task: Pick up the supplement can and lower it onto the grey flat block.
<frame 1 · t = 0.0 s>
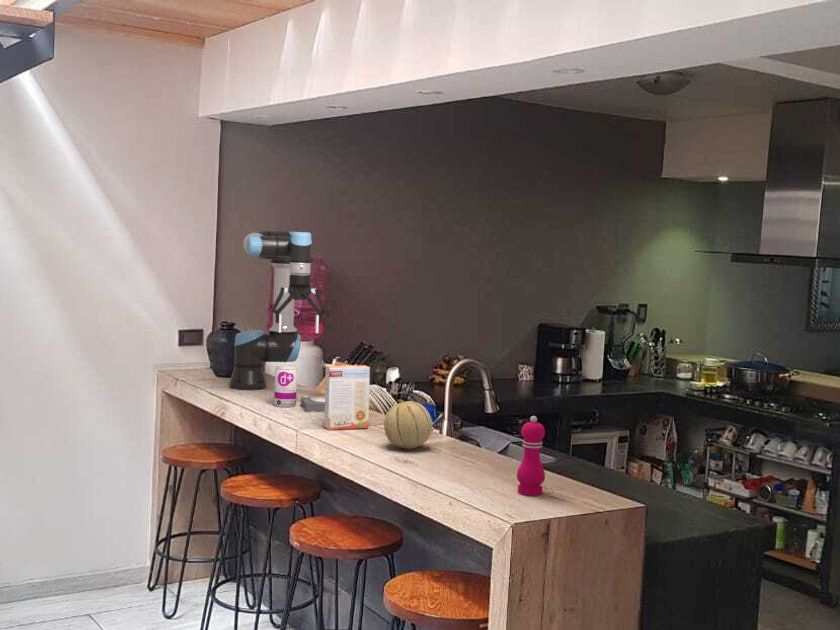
hand: (298, 332, 354), 28 cm above the counter, tool pointing down, fingers open, 13 cm apart
supplement can: (285, 406, 360), on the counter
pepper mill: (529, 493, 248), on the counter
grey flat block: (325, 408, 358), on the counter
cantaloupe: (406, 449, 295), on the counter
cracker box: (345, 428, 323), on the counter
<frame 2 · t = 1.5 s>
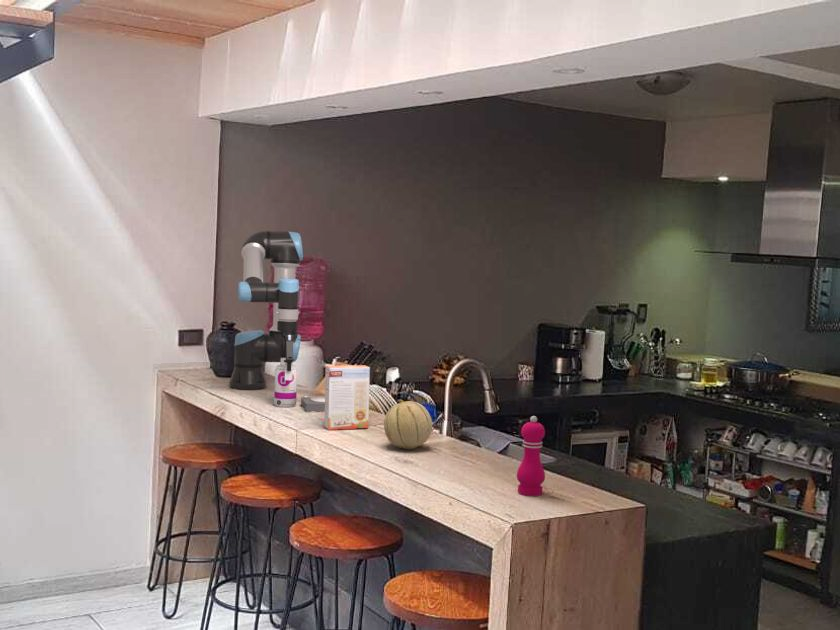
hand: (286, 377, 359), 11 cm above the counter, tool pointing down, fingers open, 13 cm apart
nothing on the counter moved.
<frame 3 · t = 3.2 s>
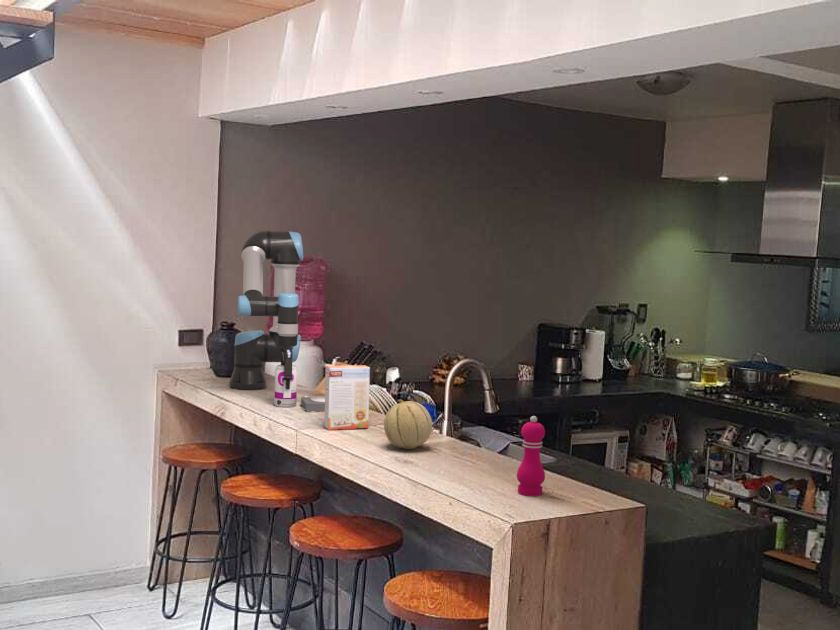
hand: (285, 395, 360), 4 cm above the counter, tool pointing down, fingers closed on supplement can, 8 cm apart
supplement can: (285, 406, 360), on the counter, touching gripper
everything else where it was.
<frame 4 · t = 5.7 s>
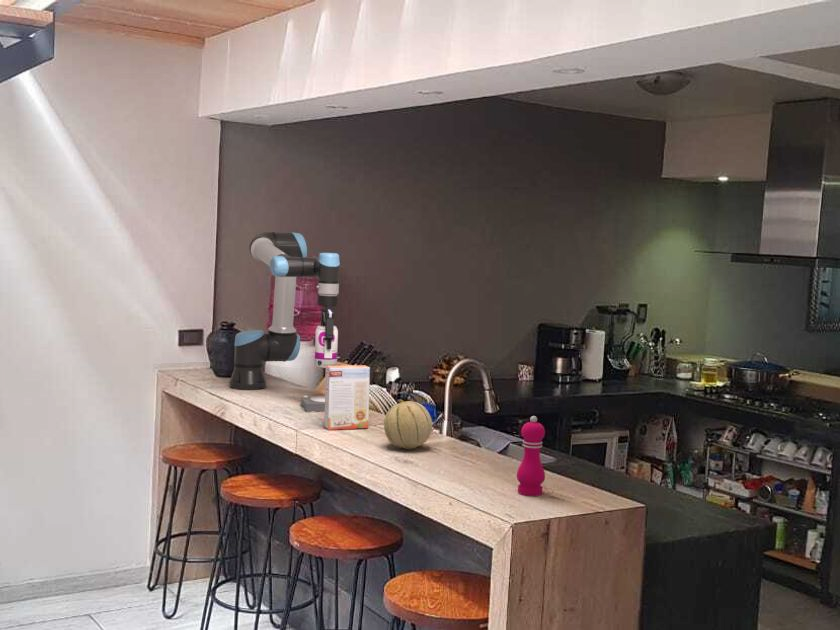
hand: (326, 356, 356), 19 cm above the counter, tool pointing down, fingers closed on supplement can, 8 cm apart
supplement can: (325, 367, 357), point 15 cm above the counter, touching gripper
everything else where it was.
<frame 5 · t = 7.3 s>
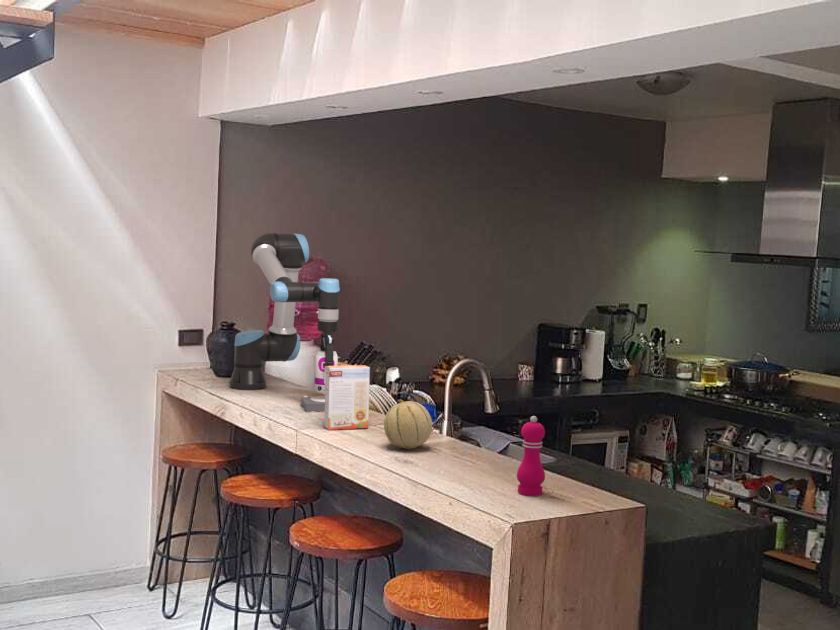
hand: (325, 381, 357), 10 cm above the counter, tool pointing down, fingers closed on supplement can, 8 cm apart
supplement can: (325, 392, 357), point 6 cm above the counter, touching gripper
everything else where it was.
when the fingers open (9 cm above the counter, at t = 8.4 s): supplement can drops 1 cm, resting on grey flat block.
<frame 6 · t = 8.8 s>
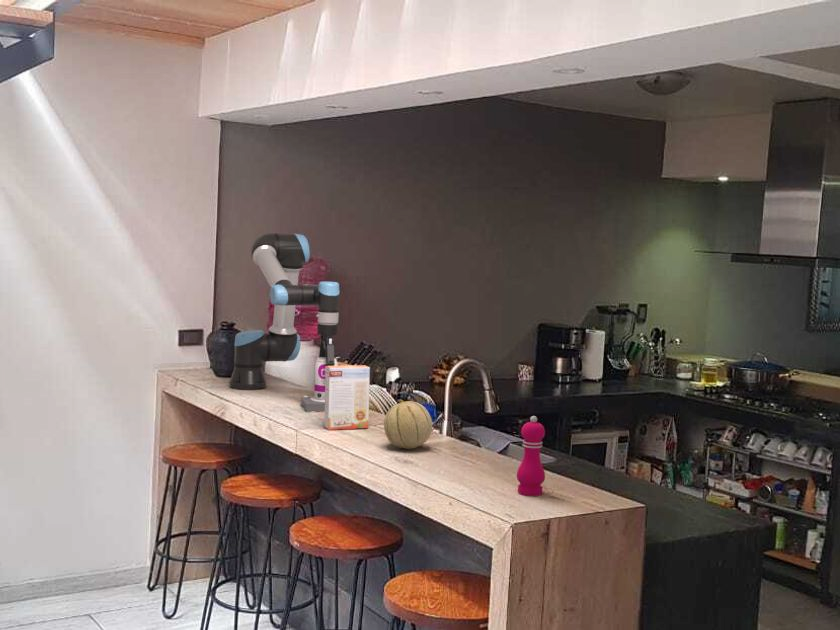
hand: (325, 381, 357), 10 cm above the counter, tool pointing down, fingers open, 13 cm apart
supplement can: (325, 399, 358), point 3 cm above the counter, touching grey flat block
everything else where it was.
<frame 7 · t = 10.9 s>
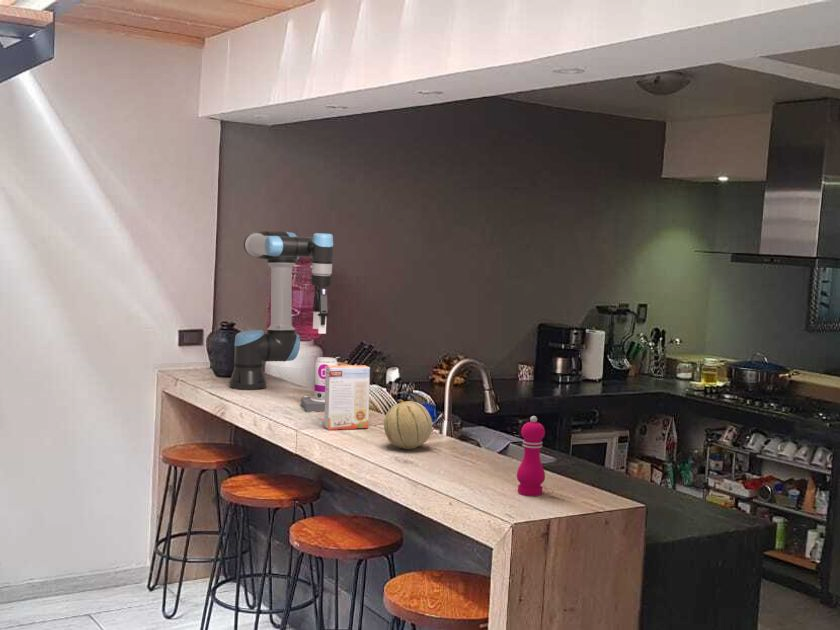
hand: (319, 331, 364), 28 cm above the counter, tool pointing down, fingers open, 13 cm apart
nothing on the counter moved.
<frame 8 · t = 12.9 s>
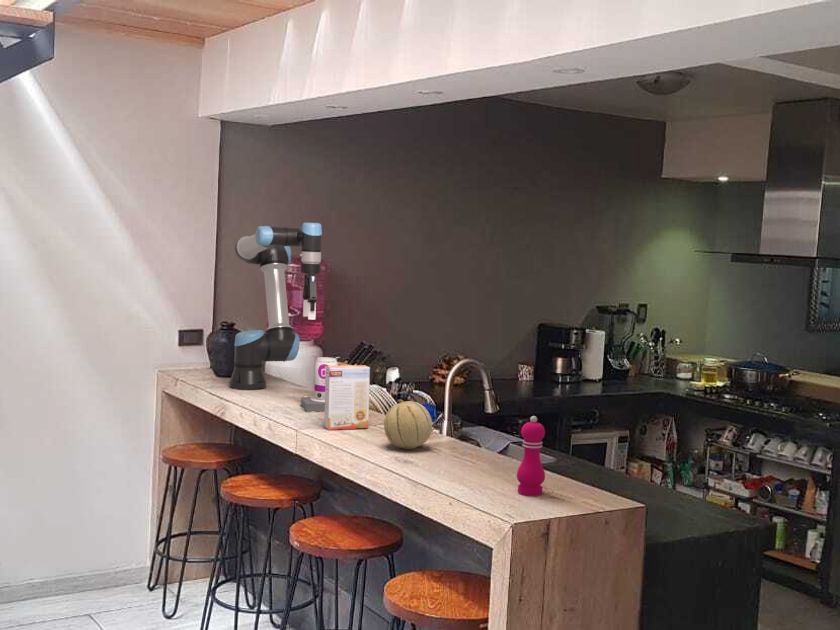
hand: (309, 318, 374), 32 cm above the counter, tool pointing down, fingers open, 13 cm apart
nothing on the counter moved.
at the end: supplement can 0.1 cm off-centre on the grey flat block, point 3.4 cm above the grey flat block's base; supplement can tilted 0°; the gripper is holding nothing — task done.
